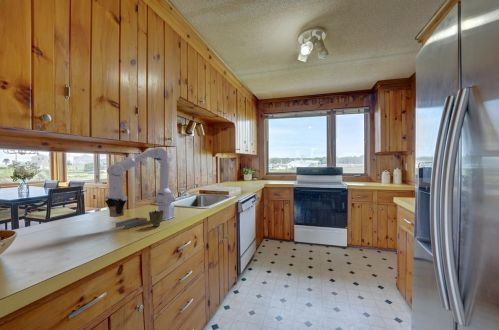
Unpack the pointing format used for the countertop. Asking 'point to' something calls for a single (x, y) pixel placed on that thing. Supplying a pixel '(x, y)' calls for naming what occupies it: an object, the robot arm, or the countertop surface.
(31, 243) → the countertop surface
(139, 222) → the channel
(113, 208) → the walnut block
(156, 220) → the cup
